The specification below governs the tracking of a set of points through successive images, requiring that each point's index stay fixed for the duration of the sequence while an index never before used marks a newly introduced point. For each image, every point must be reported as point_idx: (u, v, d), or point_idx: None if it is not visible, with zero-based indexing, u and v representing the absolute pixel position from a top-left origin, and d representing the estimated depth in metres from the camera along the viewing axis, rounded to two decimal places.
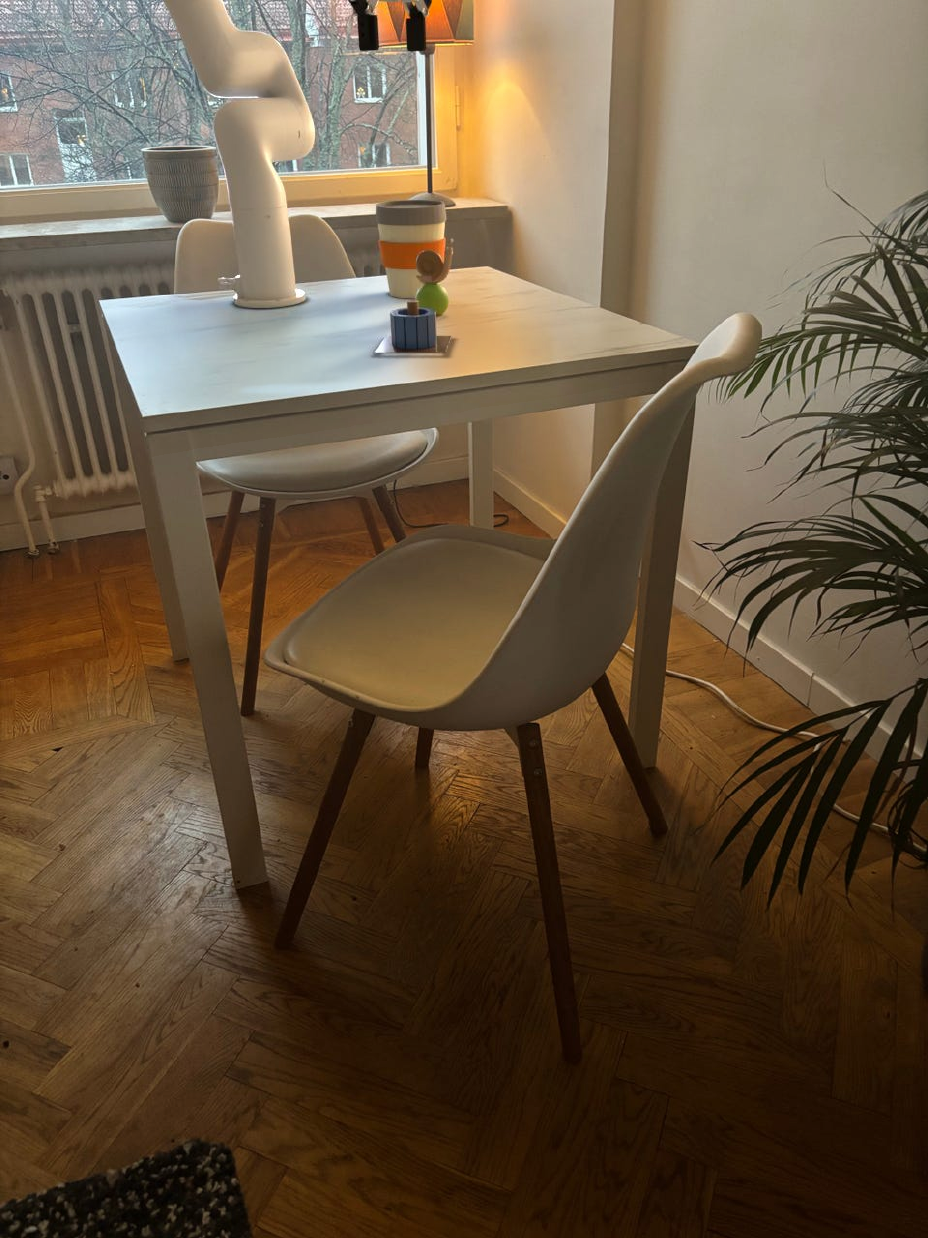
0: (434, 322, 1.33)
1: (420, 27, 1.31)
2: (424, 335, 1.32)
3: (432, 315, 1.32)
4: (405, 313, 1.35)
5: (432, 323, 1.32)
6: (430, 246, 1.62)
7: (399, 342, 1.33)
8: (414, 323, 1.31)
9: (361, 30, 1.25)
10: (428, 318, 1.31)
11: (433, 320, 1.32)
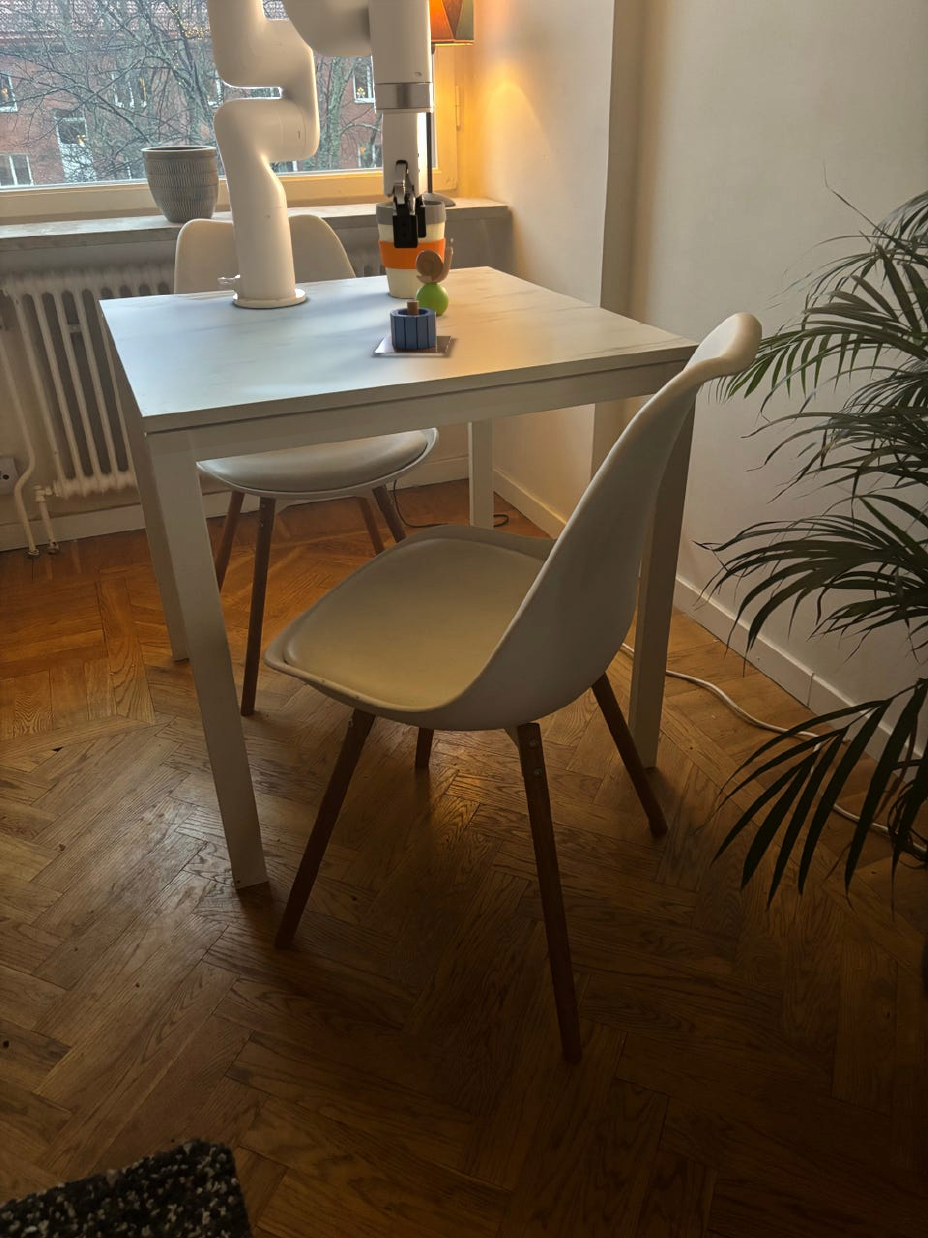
0: (434, 322, 1.33)
1: (422, 216, 1.31)
2: (424, 335, 1.32)
3: (432, 315, 1.32)
4: (405, 313, 1.35)
5: (432, 323, 1.32)
6: (430, 246, 1.62)
7: (399, 342, 1.33)
8: (414, 323, 1.31)
9: (402, 230, 1.22)
10: (428, 318, 1.31)
11: (433, 320, 1.32)
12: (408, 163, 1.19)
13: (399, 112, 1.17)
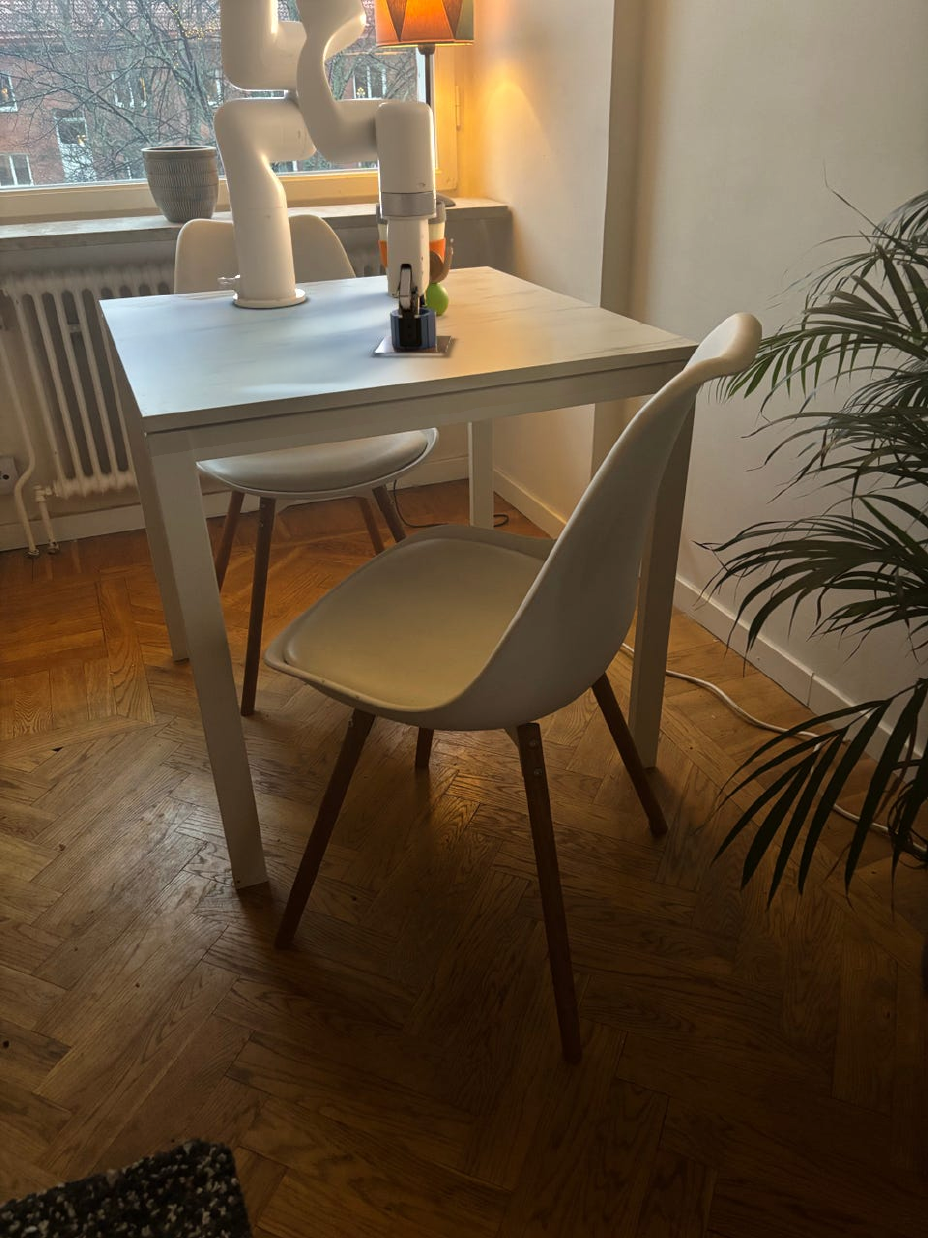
0: (434, 322, 1.33)
1: None
2: (424, 335, 1.32)
3: (432, 315, 1.32)
4: None
5: (432, 323, 1.32)
6: (430, 246, 1.62)
7: None
8: None
9: (407, 331, 1.30)
10: (428, 318, 1.31)
11: (433, 320, 1.32)
12: (412, 266, 1.25)
13: (404, 219, 1.24)
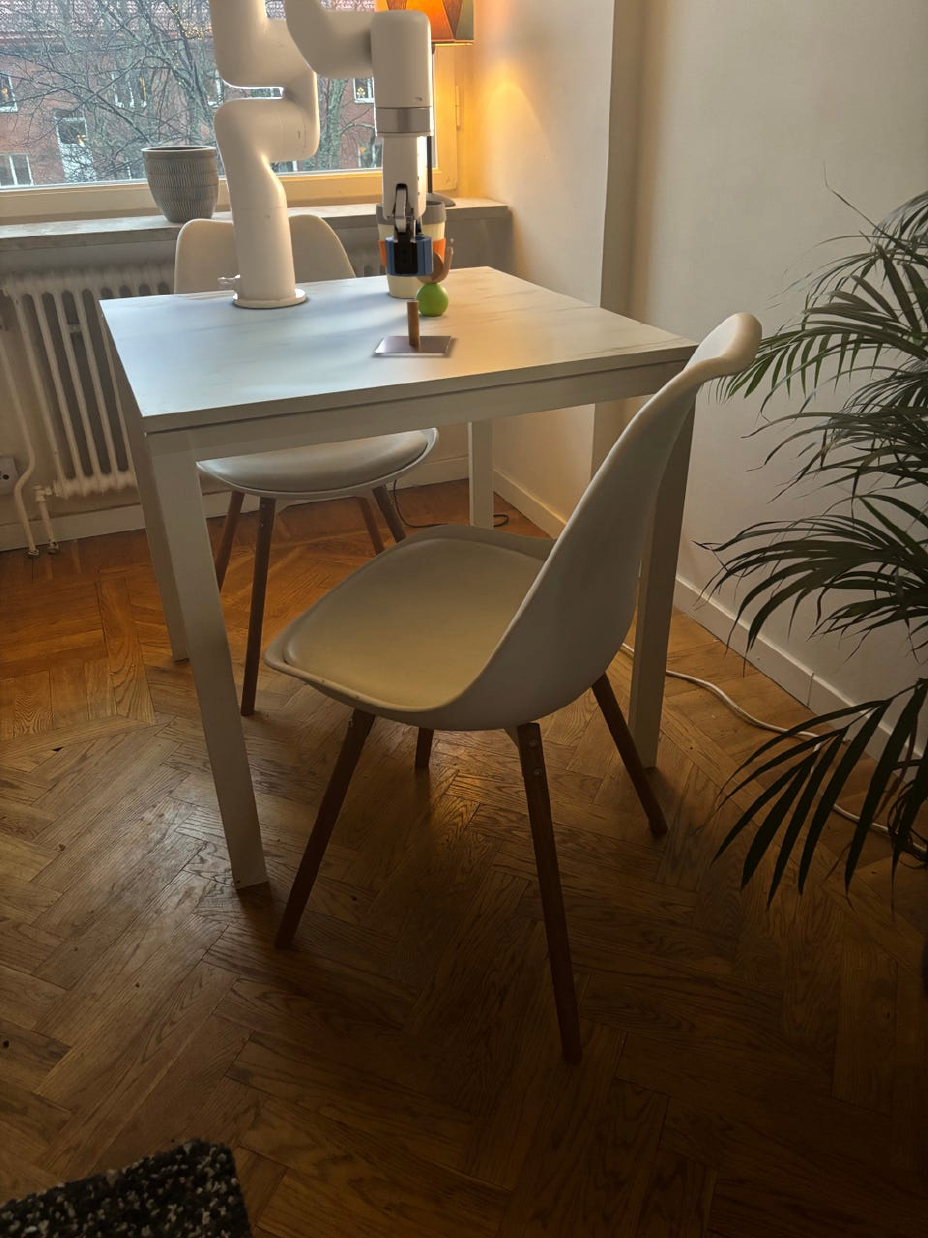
0: (431, 249, 1.28)
1: None
2: (420, 262, 1.27)
3: (429, 241, 1.27)
4: None
5: (428, 250, 1.28)
6: None
7: (394, 269, 1.28)
8: None
9: (403, 256, 1.25)
10: (424, 244, 1.27)
11: (430, 246, 1.28)
12: (408, 186, 1.21)
13: (399, 136, 1.19)
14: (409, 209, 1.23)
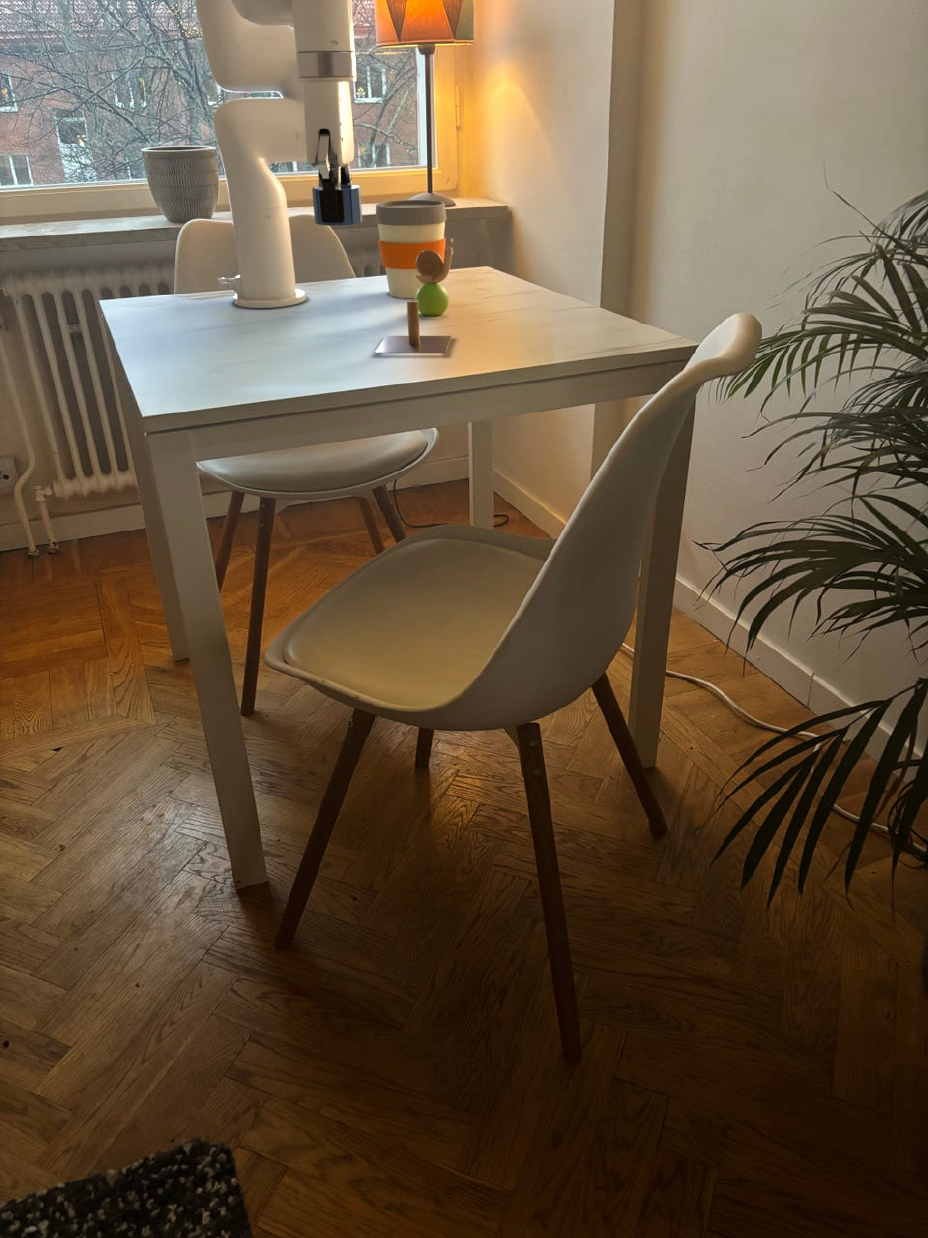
0: (358, 197, 1.28)
1: None
2: (347, 210, 1.27)
3: (355, 189, 1.27)
4: None
5: (356, 198, 1.27)
6: (430, 246, 1.62)
7: None
8: None
9: (328, 204, 1.25)
10: (351, 192, 1.26)
11: (357, 195, 1.27)
12: (330, 132, 1.20)
13: (321, 80, 1.18)
14: (333, 156, 1.23)
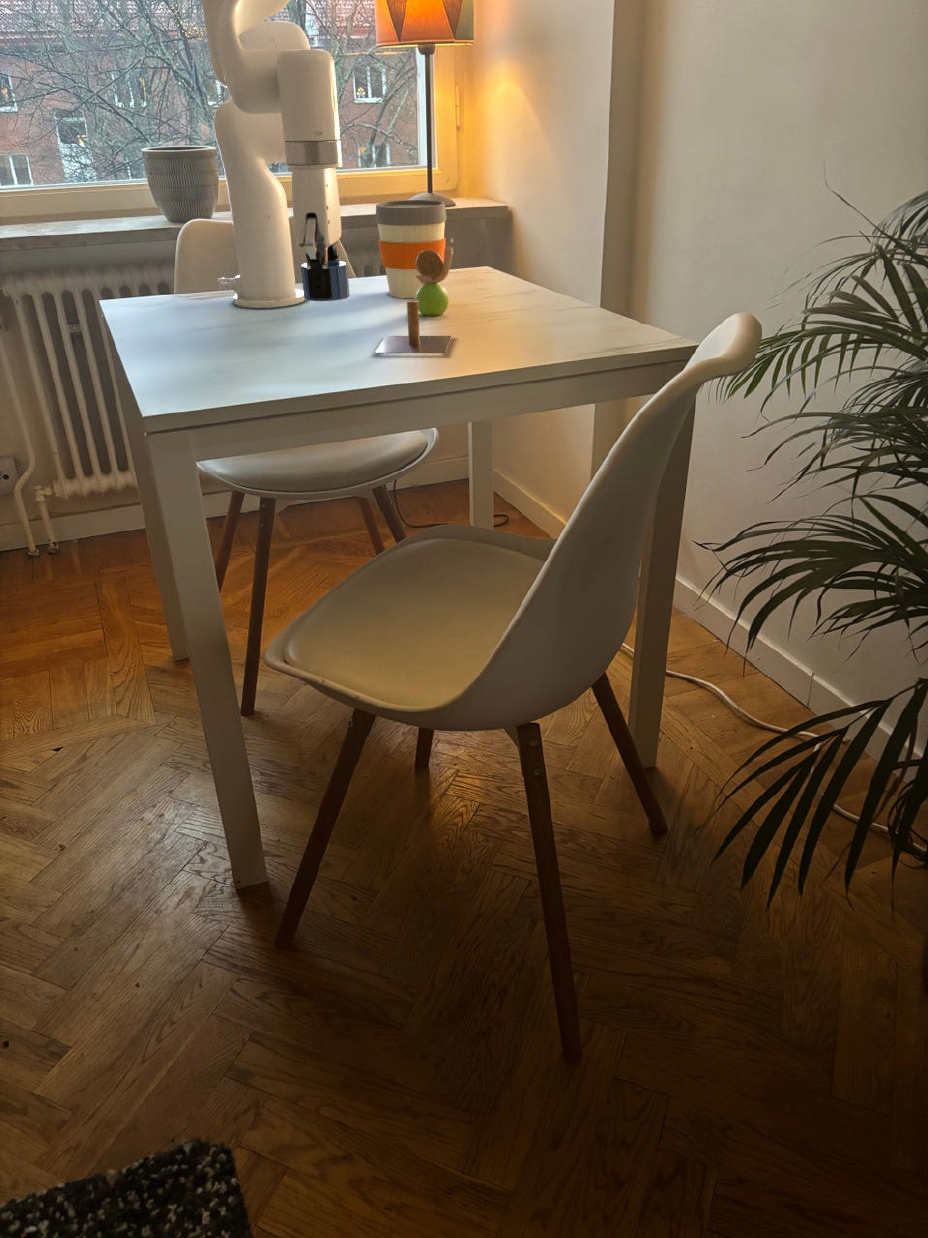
0: (345, 274, 1.33)
1: None
2: (334, 287, 1.32)
3: (342, 267, 1.32)
4: None
5: (342, 275, 1.33)
6: (430, 246, 1.62)
7: None
8: None
9: (316, 282, 1.30)
10: (338, 269, 1.32)
11: (343, 272, 1.33)
12: (317, 216, 1.26)
13: (307, 168, 1.24)
14: (321, 237, 1.29)
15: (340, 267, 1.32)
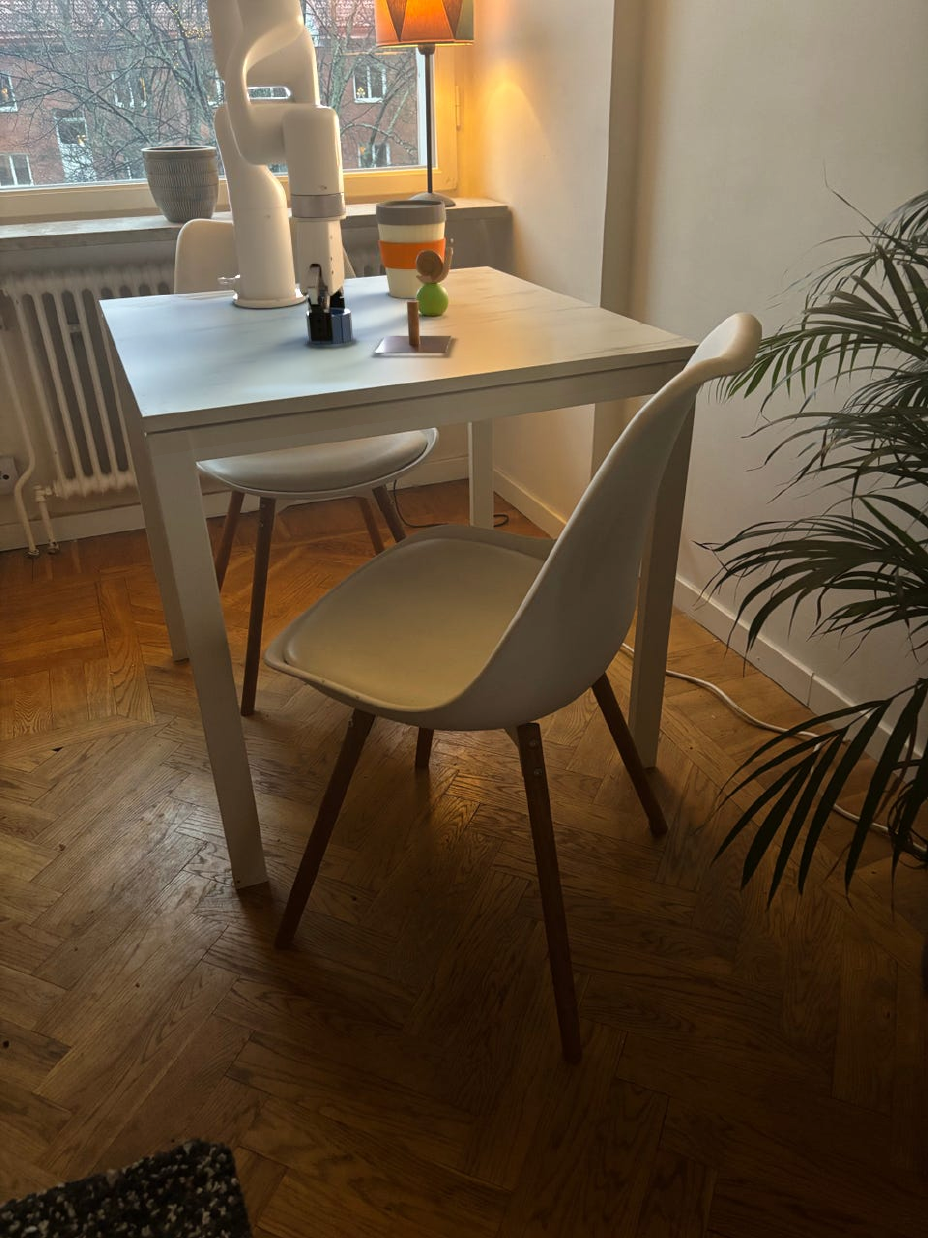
0: (349, 322, 1.37)
1: (341, 306, 1.41)
2: (338, 335, 1.36)
3: (346, 315, 1.36)
4: None
5: (347, 323, 1.36)
6: (430, 246, 1.62)
7: (315, 341, 1.37)
8: None
9: (317, 326, 1.32)
10: (342, 318, 1.35)
11: (347, 320, 1.36)
12: (321, 266, 1.29)
13: (312, 221, 1.27)
14: (324, 286, 1.32)
15: (344, 316, 1.35)
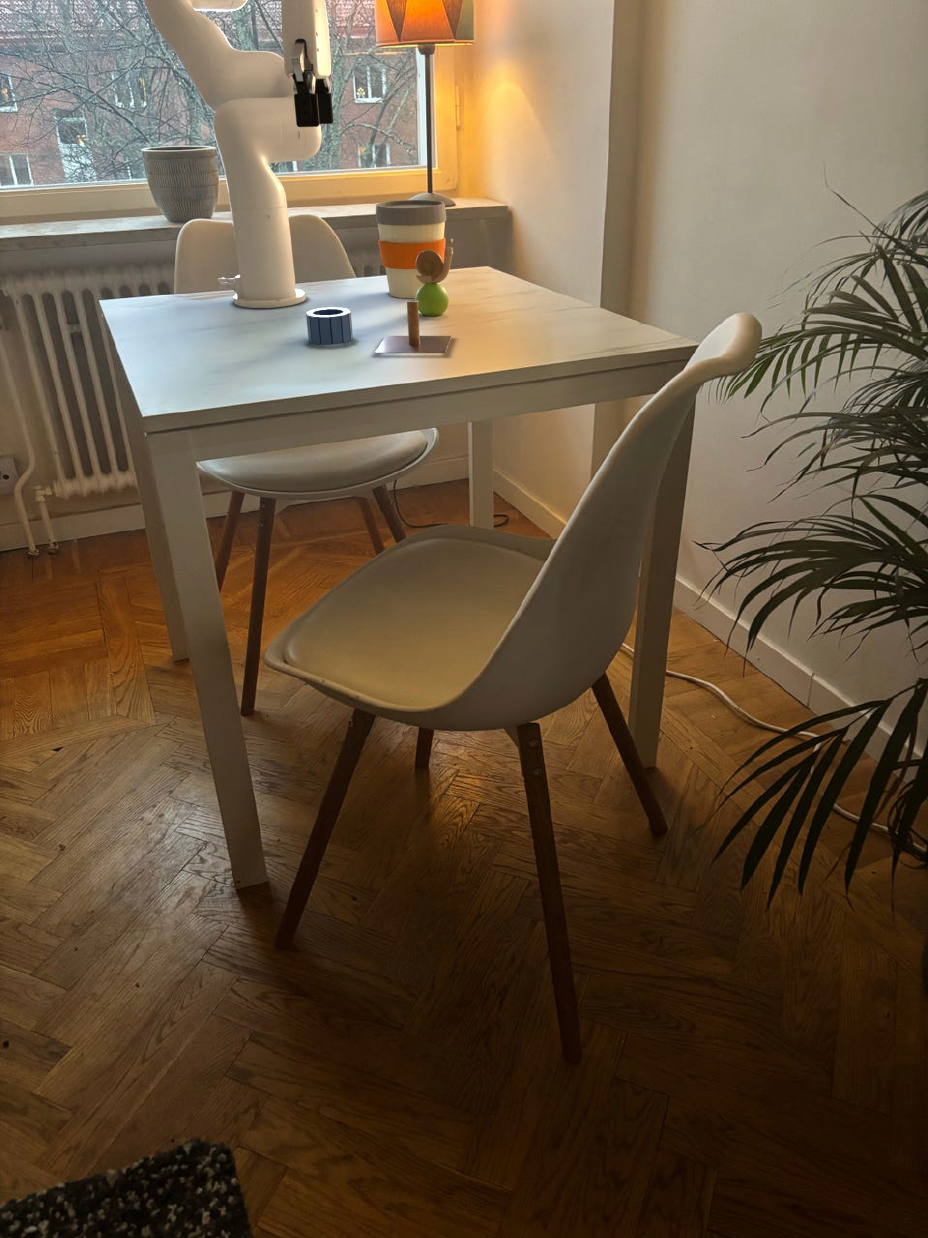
0: (349, 322, 1.37)
1: (328, 102, 1.38)
2: (338, 335, 1.36)
3: (346, 315, 1.36)
4: (322, 313, 1.39)
5: (347, 323, 1.36)
6: (430, 246, 1.62)
7: (315, 341, 1.37)
8: (328, 322, 1.34)
9: (303, 108, 1.29)
10: (342, 318, 1.35)
11: (347, 320, 1.36)
12: (306, 42, 1.26)
13: None
14: (310, 67, 1.29)
15: (344, 316, 1.35)
